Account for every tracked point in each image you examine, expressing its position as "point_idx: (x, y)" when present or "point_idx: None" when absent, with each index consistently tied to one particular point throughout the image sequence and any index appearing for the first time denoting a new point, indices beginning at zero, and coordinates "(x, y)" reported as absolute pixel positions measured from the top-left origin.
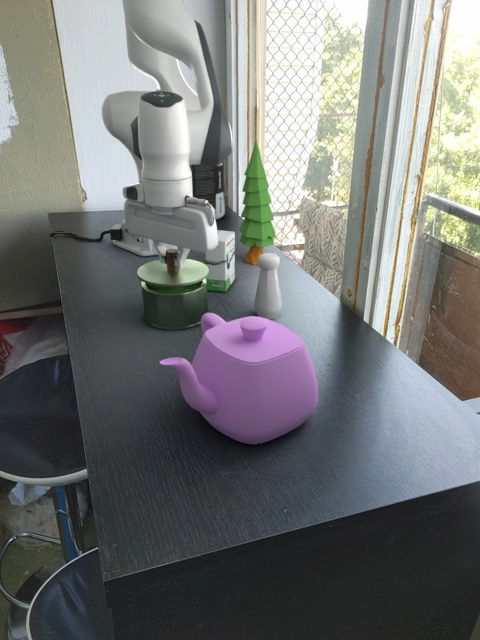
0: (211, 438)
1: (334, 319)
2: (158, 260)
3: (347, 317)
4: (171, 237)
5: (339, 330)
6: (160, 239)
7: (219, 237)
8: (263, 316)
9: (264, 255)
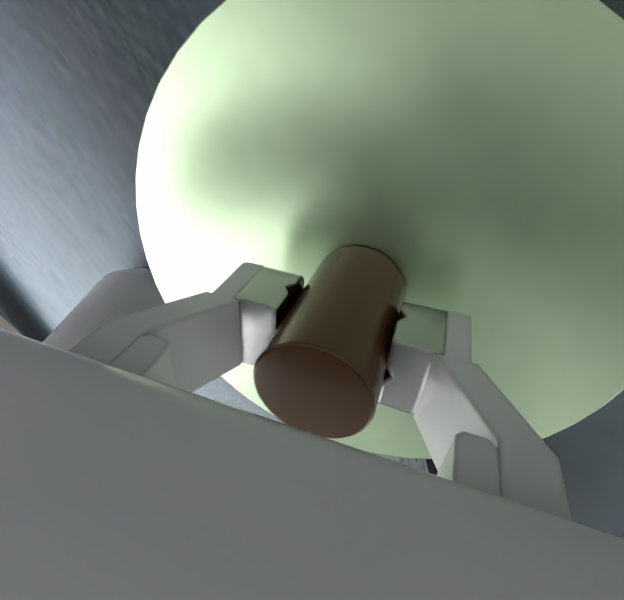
0: None
1: (50, 320)
2: (568, 415)
3: (43, 336)
4: (51, 469)
5: (5, 274)
6: (341, 481)
7: None
8: (140, 270)
9: None
